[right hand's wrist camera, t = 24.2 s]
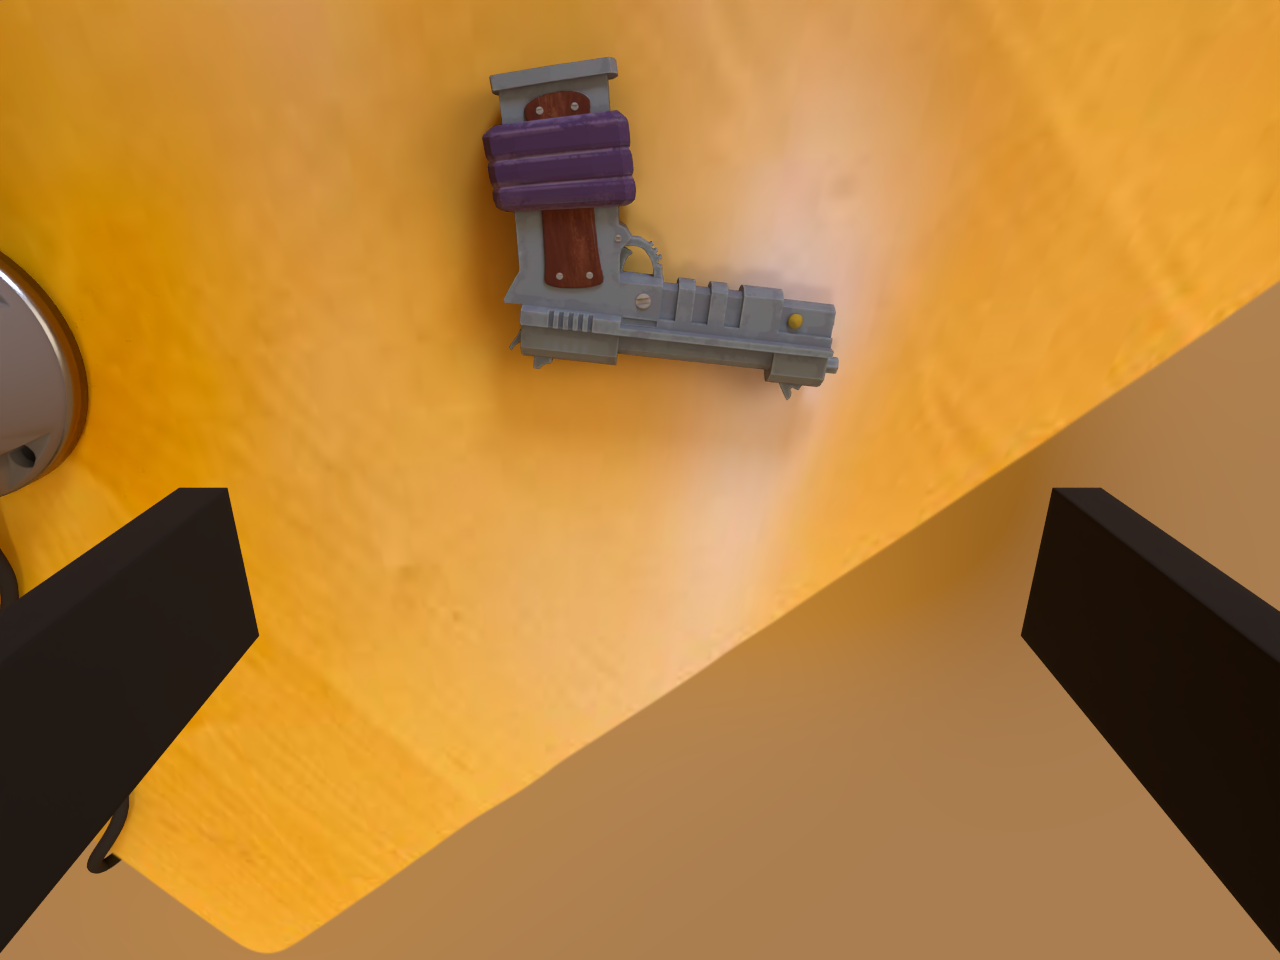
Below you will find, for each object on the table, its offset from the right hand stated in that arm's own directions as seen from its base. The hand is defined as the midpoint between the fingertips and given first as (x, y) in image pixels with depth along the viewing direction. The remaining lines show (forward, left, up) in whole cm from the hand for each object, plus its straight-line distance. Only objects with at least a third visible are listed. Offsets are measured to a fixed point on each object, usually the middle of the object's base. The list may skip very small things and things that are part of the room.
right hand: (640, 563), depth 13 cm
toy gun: (+3, -2, -31) cm, 31 cm away
